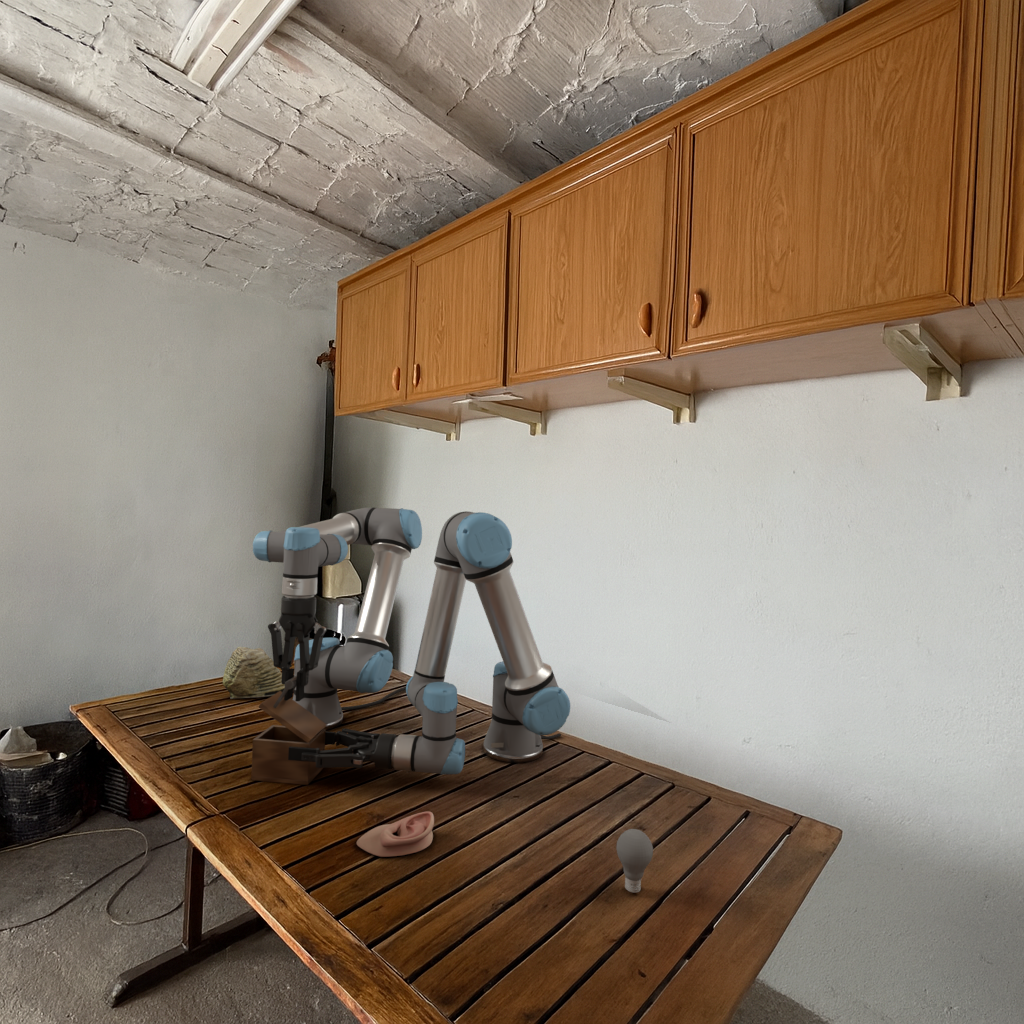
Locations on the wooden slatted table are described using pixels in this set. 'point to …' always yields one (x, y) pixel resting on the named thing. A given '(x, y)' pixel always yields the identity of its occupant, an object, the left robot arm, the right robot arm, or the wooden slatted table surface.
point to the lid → (293, 714)
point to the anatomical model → (399, 836)
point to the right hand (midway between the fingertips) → (298, 744)
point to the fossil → (251, 674)
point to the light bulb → (634, 857)
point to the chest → (283, 757)
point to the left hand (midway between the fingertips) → (294, 698)
